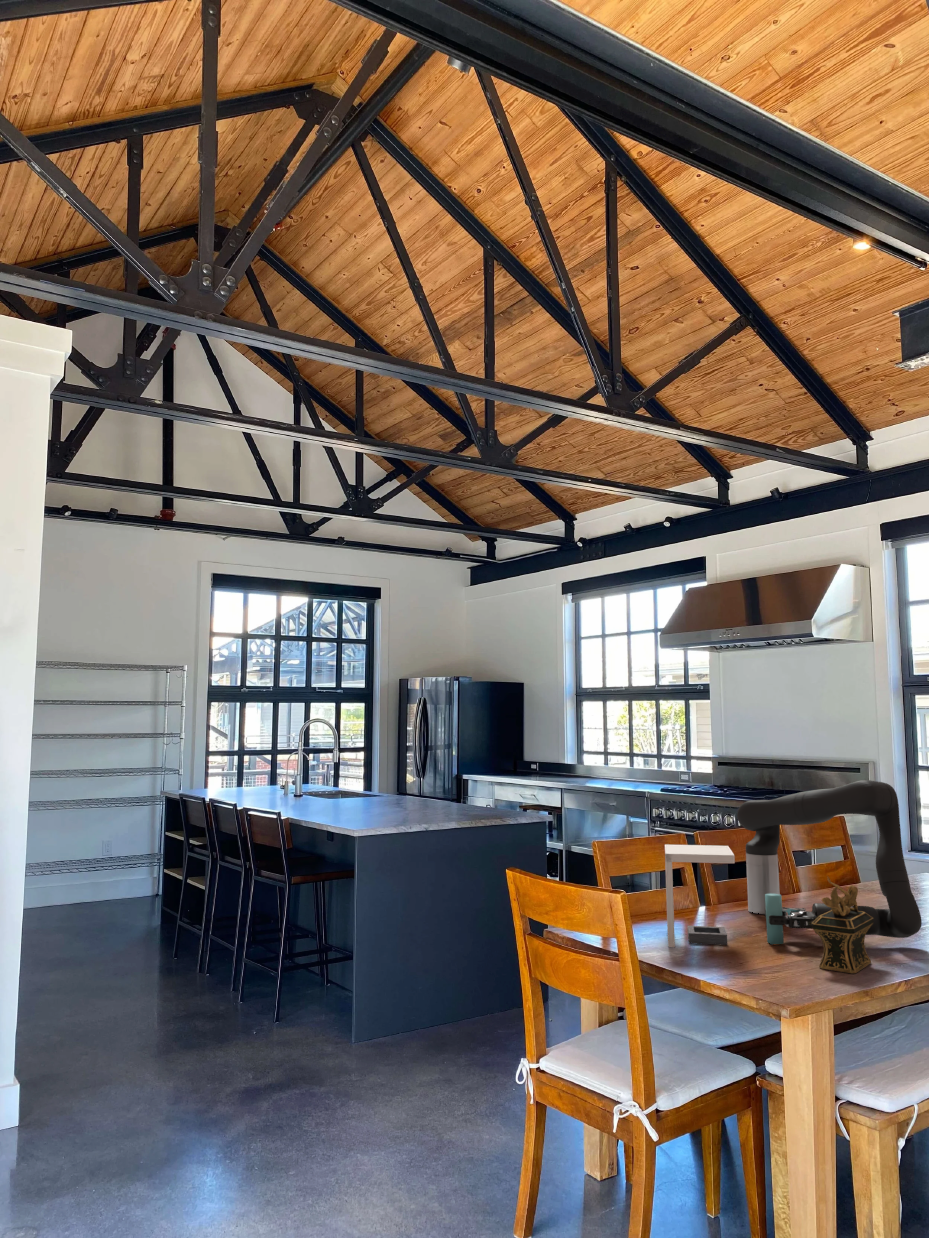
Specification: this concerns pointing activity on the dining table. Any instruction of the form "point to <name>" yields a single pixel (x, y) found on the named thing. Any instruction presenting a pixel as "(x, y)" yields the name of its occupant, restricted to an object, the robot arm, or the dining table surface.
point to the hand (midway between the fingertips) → (767, 916)
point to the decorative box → (843, 932)
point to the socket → (707, 935)
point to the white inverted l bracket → (689, 855)
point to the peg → (774, 908)
